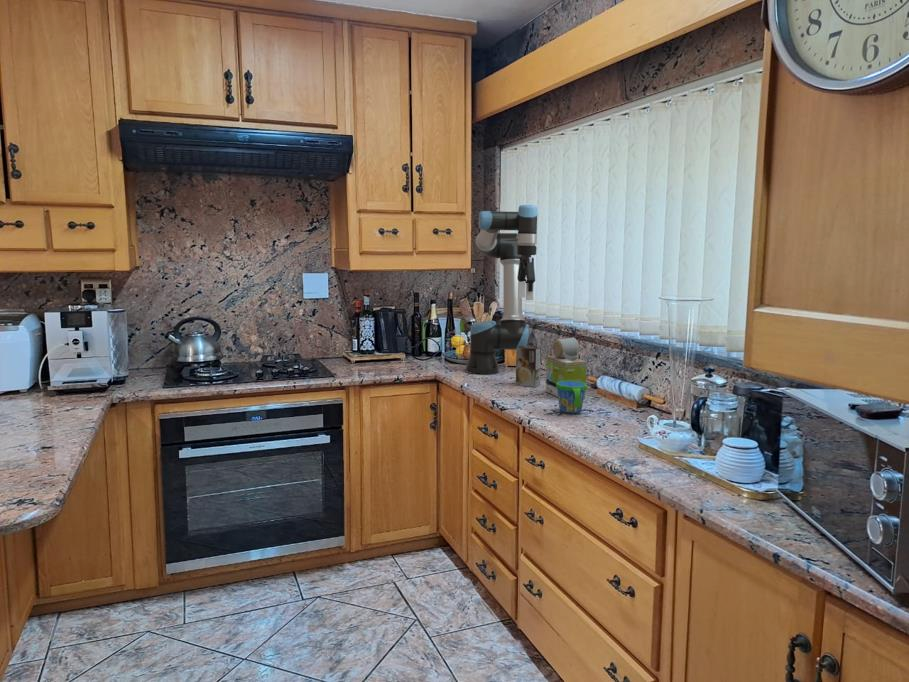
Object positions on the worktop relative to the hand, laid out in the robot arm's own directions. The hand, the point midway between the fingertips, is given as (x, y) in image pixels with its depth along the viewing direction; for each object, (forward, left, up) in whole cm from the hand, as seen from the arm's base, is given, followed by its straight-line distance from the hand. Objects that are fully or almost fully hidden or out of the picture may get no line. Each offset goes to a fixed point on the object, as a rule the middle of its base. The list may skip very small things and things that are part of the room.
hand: (525, 298), depth 265 cm
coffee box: (-8, +4, -37) cm, 38 cm away
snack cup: (+39, +8, -37) cm, 54 cm away
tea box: (+12, +14, -37) cm, 41 cm away
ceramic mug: (+13, +14, -22) cm, 29 cm away
